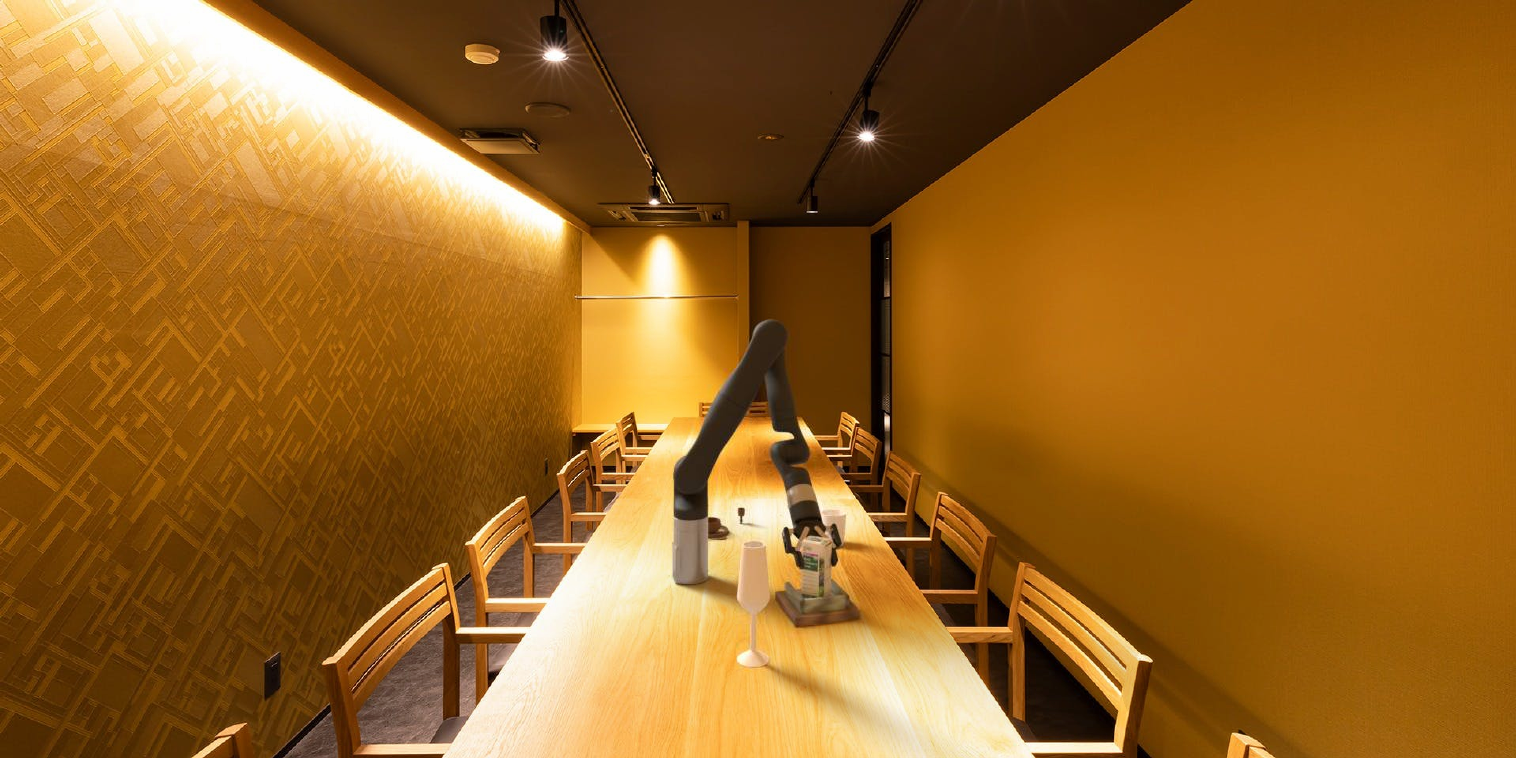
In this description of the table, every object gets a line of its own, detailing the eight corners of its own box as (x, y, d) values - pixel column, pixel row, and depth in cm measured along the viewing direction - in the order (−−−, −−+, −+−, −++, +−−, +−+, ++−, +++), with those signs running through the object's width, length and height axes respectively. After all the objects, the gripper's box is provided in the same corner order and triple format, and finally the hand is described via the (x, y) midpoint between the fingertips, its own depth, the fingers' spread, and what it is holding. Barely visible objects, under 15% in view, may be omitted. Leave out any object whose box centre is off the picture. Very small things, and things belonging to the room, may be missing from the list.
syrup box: (800, 599, 161) (800, 540, 160) (810, 591, 167) (810, 533, 165) (822, 604, 159) (823, 544, 158) (831, 595, 164) (832, 537, 163)
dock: (795, 626, 153) (795, 605, 153) (775, 599, 168) (775, 579, 168) (860, 619, 157) (860, 598, 157) (835, 592, 173) (835, 573, 172)
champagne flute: (768, 650, 142) (769, 539, 140) (770, 667, 135) (771, 549, 133) (736, 651, 141) (737, 539, 140) (736, 667, 135) (737, 549, 133)
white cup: (845, 540, 215) (845, 509, 215) (846, 548, 208) (846, 516, 207) (820, 539, 216) (820, 508, 215) (820, 547, 208) (820, 515, 208)
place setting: (687, 527, 230) (687, 510, 229) (743, 523, 235) (743, 506, 235) (697, 543, 213) (697, 525, 212) (758, 538, 219) (758, 520, 218)
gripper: (779, 500, 166) (793, 562, 156) (833, 497, 170) (851, 557, 160) (773, 515, 172) (786, 576, 162) (825, 512, 176) (842, 570, 165)
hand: (818, 566), depth 161 cm, fingers closed on syrup box, 8 cm apart
